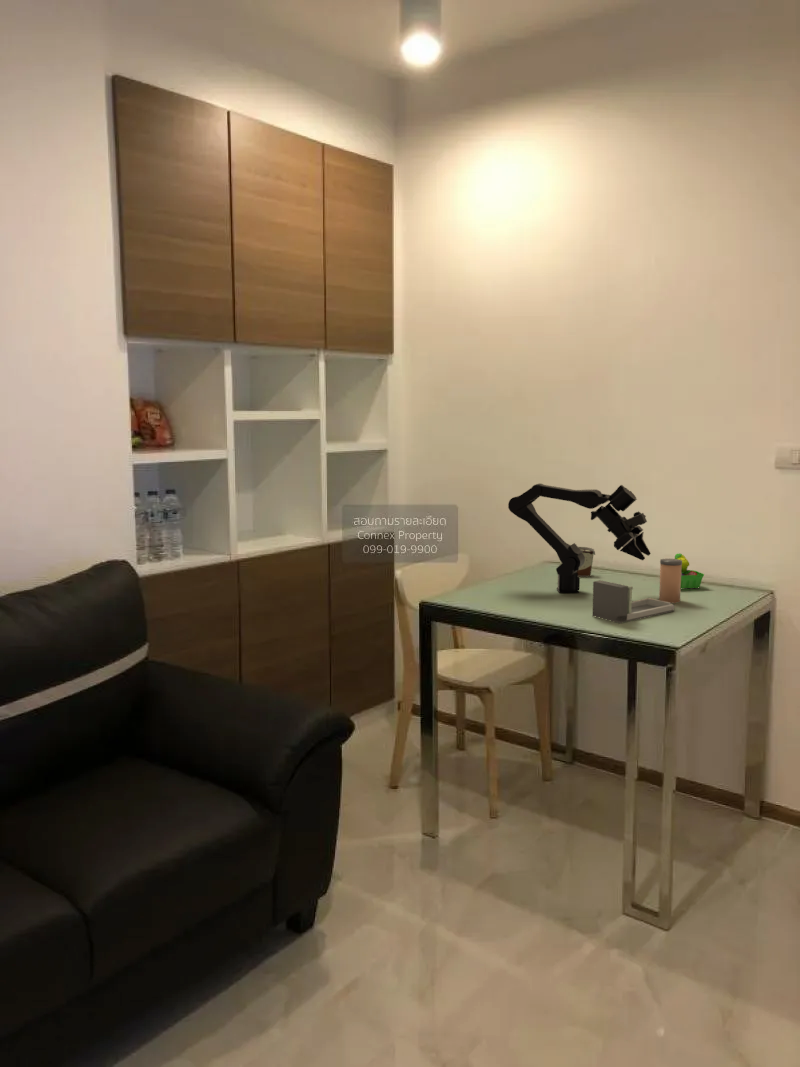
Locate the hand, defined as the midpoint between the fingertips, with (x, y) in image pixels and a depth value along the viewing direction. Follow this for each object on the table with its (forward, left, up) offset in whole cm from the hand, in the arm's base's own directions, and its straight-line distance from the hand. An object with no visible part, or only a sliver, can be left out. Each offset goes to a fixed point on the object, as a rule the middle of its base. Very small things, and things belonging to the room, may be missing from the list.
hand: (646, 557), depth 278 cm
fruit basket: (+17, +17, -14) cm, 28 cm away
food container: (-15, +39, -14) cm, 44 cm away
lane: (-9, -20, -13) cm, 26 cm away
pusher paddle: (-14, -24, -13) cm, 30 cm away
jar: (+7, -3, -14) cm, 15 cm away
